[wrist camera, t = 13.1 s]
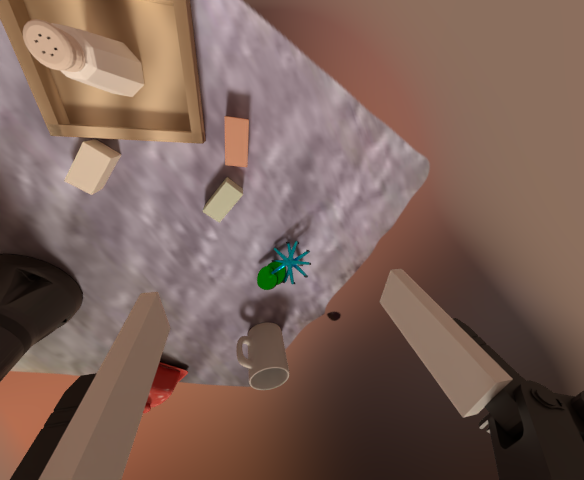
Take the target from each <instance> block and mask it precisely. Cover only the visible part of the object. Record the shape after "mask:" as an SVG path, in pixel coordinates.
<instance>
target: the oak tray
mask: <svg viewBox="0 0 584 480" xmlns="http://www.w3.org/2000/svg"><path fill="white" fill-rule="evenodd" d="M0 19H1V21H2V24H3V26H4V28H5V31H6V33H7V35H8V37H9V40H10V42H11V44H12V47H13V49H14V51H15V54H16V56H17V58H18V61H19V63H20V65H21V68H22V70H23V72H24V75H25V77H26V79H27V82H28V84H29V86H30V89H31V91H32V93H33V95H34V98H35V100H36V102H37V105H38V107H39V109H40V112H41V114H42V116H43V119H44V121H45V123H46V126H47V128H48V130H49V133H50V135H51V136H66V137H86V138H105V139H125V140H144V141H164V142H183V143H204V142H205V141H206V138H205V129H204V121H203V112H202V103H201V94H200V85H199V76H198V67H197V59H196V50H195V41H194V32H193V23H192V14H191V5H190V0H0ZM34 19H39V20H43V21H46V22H48V23H50V24H51V23H55V24H60V25H65V26H69V27H73V28H76V29H81V30H84V31H87V32H90V33H94V34H97V35H100V36H103V37H106V38H110V39H113V40H116V41H119V42H122V43H124V44H125V45H126V46H127V47H128V48H129V50H130V51H131V52H132V53H133V54H134V55H135V56H136V57H137V59H138V60H139V61H140V62H141V64H142V71H143V78H144V86H143V87H142V88H141V89H140V90H139V91H138V92H137V93H136V94H135V95H134V96H133V97H129V96H124V95H118V94H112V93H109V92H107V91H104V90H101V89H98V88H95V87H93V86H90V85H87V84H84V83H81V82H79V81H76V80H73V79H71V78H68V77H66V76H65V75H64V74H63V73H62V72H61V71H60V70H54V69H51V68H49V67H46V66H45V65H43V64H42V63H40V62H39V61H38V60H37V59H36V58H34V56H33V55H32V54H31V53H30V52H29V50H28V48H27V46H26V45H25V42H24V39H23V28H24V25H25V24H26V23H27V22H28V21H30V20H34Z"/></svg>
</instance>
